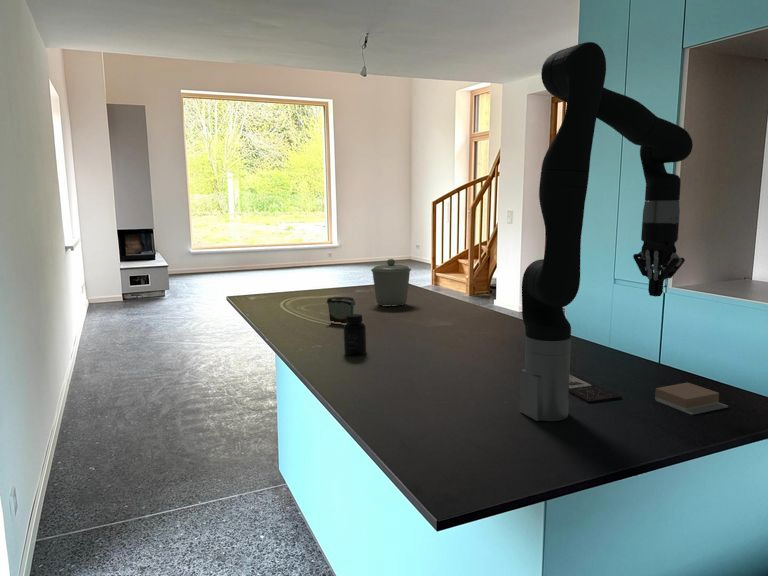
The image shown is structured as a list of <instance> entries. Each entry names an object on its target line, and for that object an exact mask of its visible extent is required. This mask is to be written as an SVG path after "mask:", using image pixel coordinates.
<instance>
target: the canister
mask: <svg viewBox="0 0 768 576" xmlns="http://www.w3.org/2000/svg"><path fill="white" fill-rule="evenodd" d="M386 263H387V264H380V265H376V266H374V267H373V268H371V269H370V271H371V272H372V278H373V279H372V281H373V287H374V293H375V299H376V303H377V305H379V304H381V305H391V306H392V305H402V304H404V305H406V303H407V301H408V300H407V299H408V294H409V293H408V291H409V286H410V285H409V284H410V283H409V282H410V273H411V271H412V268H410V267H409V266H407V265H403V264H396V261H395V259H393V258H388V259H387V261H386ZM402 306H403V305H402Z"/></svg>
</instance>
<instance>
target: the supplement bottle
mask: <svg viewBox="0 0 768 576" xmlns="http://www.w3.org/2000/svg"><path fill="white" fill-rule="evenodd" d="M346 322H347V324H346V325H345V326H343V346H344V347H343V350H344V354H345V355H346V356H349V355H351V356H350V357H359V356H364V355H365V354H366V353H367V328H366V325H365V323H363V315H362V314H358V313H353V314H351V315H347V320H346Z"/></svg>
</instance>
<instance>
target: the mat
mask: <svg viewBox="0 0 768 576" xmlns="http://www.w3.org/2000/svg"><path fill="white" fill-rule="evenodd" d="M655 402H658V403H660V404H663V405H666V406H668V407H669V408H670V407H671V408H672V409H675V410H678V411H680V412H683V413H685V414H687V415H691V416H694V415H698V414H702V413H703V414H704V413H708V412H713V411H717V410H722V409H727V408H729V405H727V404H724V403H721V402H719V403H718V404H713V405H708V406H703V407H698V408H693V409H688V410H684V409H681V408H679V407H676V406H673V405H671V404H668V403H666V402H663V401H661V400H658V399H655Z"/></svg>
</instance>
